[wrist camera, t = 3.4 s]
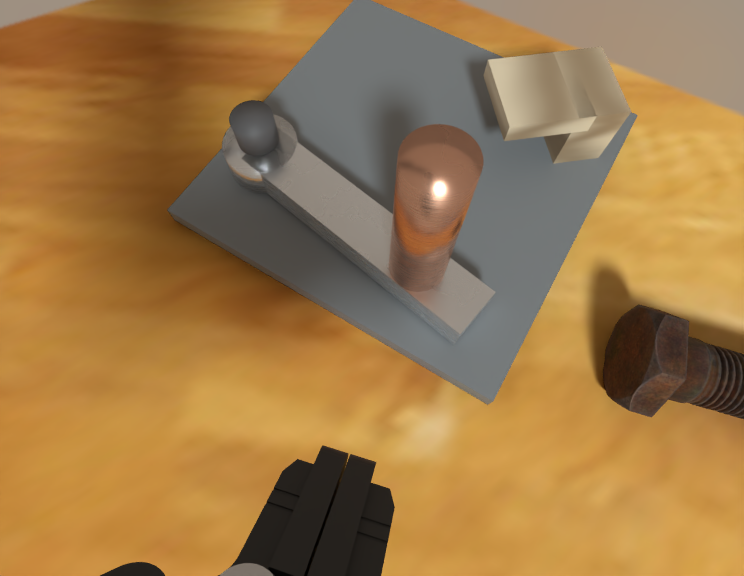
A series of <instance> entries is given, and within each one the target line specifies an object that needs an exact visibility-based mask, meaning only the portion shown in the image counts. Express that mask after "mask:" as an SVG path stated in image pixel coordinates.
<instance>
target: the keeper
mask: <svg viewBox="0 0 744 576" xmlns="http://www.w3.org/2000/svg"><path fill="white" fill-rule="evenodd" d="M484 79H485V82H486V85H487V89H488V92H489V95H490V98H491V101H492V105H493V108H494V111H495V114H496V117H497V120H498V124H499V127H500V130H501V133H502V136H503V140H504V141H510V140H518V139H526V138H534V137H542V136H544V139H545V142H546V145H547V148H548V150H549V153H550V156H551V159H552V162H553V164H555V163H563V162H570V161H578V160H586V159H594V158H599V156H600V155H601V154H602V152H603V151H604V149H605V148H606V147H607V145H608V144H609V142H610V141H611V140H612V138H613V137H614V135H615V134H616V133H617V131H618V130H619V128H620V127H621V126H622V124H623V123H624V121H625V120H626V119H627V117H628V116H629V114H630V113H631V110H630V108H629V106H628V104H627V101H626V99H625V97H624V95H623V92H622V90H621V88H620V86H619V84H618V81H617V79H616V77H615V75H614V72H613V70H612V68H611V66H610V64H609V61H608V59H607V57H606V55H605V52H604V50H603V48H602V47H595V48H586V49H577V50H569V51H560V52H551V53H542V54H534V55H525V56H516V57H507V58H499V59H490V60H488V61H487V65H486V68H485V72H484Z"/></svg>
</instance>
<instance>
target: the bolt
mask: <svg viewBox="0 0 744 576" xmlns="http://www.w3.org/2000/svg"><path fill="white" fill-rule="evenodd" d="M688 331H689V321H687V320H685V319H682V318H679V317H677V316H674V315H671V314H668V313H666V312H663V311H660V310H657V309H653V308H649V307H646V306H642V305H637V306H636V307H634V308H632V309H631V310H629V311H628V312H627V313H626V314H624V315H623V316H622V317H621V318H620V319H619V321H618V322H617V324H616V326H615V328H614V330H613V332H612V335H611V337H610V339H609V342H608V345H607V348H606V353H605V362H604V369H603V379H604V385H605V389H606V393H607V395H608V396H609V397H610V398H611V399H612V400H613V401H615V402H616V403H617V404H619V405H621V406H622V407H624V408H626V409H627V410H629V411H632V412H635V413H639V414H642V415H645V416H649V417H652V416H653V415H654V414H655V413H656V412H657V411H658V410H659V409H660V408H661V406H662V405H663V404H664V403H665V402H666V401H667V400H668V399H669V400H672V401H676V402H680V403H686V402H687V403H690V404H692V405H696V406H699V407H703V408H706V409H711V410H715V411H718V412H720V413H724V414H728V415H731V416H735V417H738V418H742V419H744V354H741V353H738V352H734V351H731V350H728V349H724V348H721V347H717V346H714V345H710V344H707V343H704V342H703V341H701V340H699V339H695V338H692V337H689V336H688Z"/></svg>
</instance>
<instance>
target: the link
mask: <svg viewBox="0 0 744 576" xmlns="http://www.w3.org/2000/svg"><path fill="white" fill-rule="evenodd" d="M273 115H274V114H273ZM274 119H275V123H276V126H277V130H278V134H279V142H278V145H277V147H276V148H275V149H274V150H273V151H272V152H270V153H268V154H266V155H263V156H251V155H248V154H246V153H244V152H243V151H242V150H241V149H240V147H239V145H238V143H237V140H236V138H235V135H234V133H233V130H232V128H231V126H230V128H229V129H228V130H227V132H226V133H225V135H224V138H223V142H222V150H223V154H224V157H225V159H226V161H227V163H228V165H229V168H230V170H231V172H232V174H233V176H234V178H235V180H236V181H237V182H238V184H240V185H241V186H242V187H243V188H245V189H247V190H249V191H252V192H255V193H268V194H269V195H270V196H271V197H272V198H274V199H275V200H276V201H277V202H279V203H280V204H281V205H282V206H284V207H285V208H286V209H287V210H289V211H290V212H291V213H292V214H293V215H295V216H296V217H297V218H298V219H300V220H301V221H302V222H303V223H305V224H306V225H307V226H308V227H309V228H311V229H312V230H313V231H314V232H316V233H317V234H318V235H319V236H321V237H322V238H323V239H324V240H325V241H327V242H328V243H329V244H330V245H332V246H333V247H334V248H335V249H337V250H338V251H339V252H340V253H341V254H343V255H344V256H345V257H346V258H348V259H349V260H350V261H351V262H353V263H354V264H355V265H356V266H357V267H359V268H360V269H361V270H362V271H364V272H365V273H366V274H367V275H369V276H370V277H371V278H372V279H373V280H375V281H376V282H377V283H378V284H380V285H381V286H382V287H383V288H385V289H386V290H387V291H388V292H389V293H391V294H392V295H393V296H394V297H396V298H397V299H398V300H399V301H401V302H402V303H403V304H404V305H406V306H407V307H408V308H409V309H410V310H412V311H413V312H414V313H415V314H417V315H418V316H419V317H420V318H422V319H423V320H424V321H425V322H426V323H428V324H429V325H430V326H431V327H433V328H434V329H435V330H436V331H438V332H439V333H440V334H441V335H442V336H444V337H445V338H446V339H447V340H449V341H450V342H451V343H452V344H455V343H456V341H457V340H458V339H459V338H460V337H461V335H462V334H463V333H464V332H465V331H466V329H467V328H468V327H469V326H470V325H471V323H472V322H473V321H474V320H475V319H476V318H477V316H478V315H479V314H480V313H481V312H482V310H483V309H484V308H485V307H486V306H487V304H488V303H489V301H490V300H491V298H492V297H493V295H494V294H495V291H494V290H492V289H491V288H490V287H488V286H487V285H486V284H484V283H483V282H482V281H480V280H479V279H478V278H476V277H475V276H474V275H472V274H471V273H470V272H468V271H467V270H466V269H464V268H463V267H462V266H461V265H459V264H458V263H457V262H455V261H454V260H453V259H451V255H452V252H453V249H454V247H455V244H456V241H457V238H458V236H459V233H460V230H461V227H462V225H463V222H464V219H465V216H466V214H467V211H468V208H469V205H470V202H471V200H472V197H473V194H474V191H475V189H476V186H477V183H478V180H479V178H480V175H481V172H482V169H483V162H484V160H483V154H482V151H481V148H480V146H479V145H478V143H477V142H476V141H475V139H474V138H473V137H472V136H471V135H469V134H468V133H467V132H465V131H463V130H461V129H459V128H457V127H454V126H450V125H445V124H432V125H426V126H423V127H420V128H418V129H416V130H414V131H413V132H411V133H410V134H409V135H407V137H406V138H405V139H404V140H403V142H402V143H401V145H400V147H399V151H398V158H397V170H396V182H395V194H394V206H393V214H392V213H390V212H389V211H388V210H387V209H385V208H384V207H383V206H381V205H380V204H379V203H377V202H376V201H375V200H373V199H372V198H371V197H369V196H368V195H367V194H365V193H364V192H363V191H361V190H360V189H359V188H357V187H356V186H355V185H353V184H352V183H351V182H350V181H348V180H347V179H346V178H344V177H343V176H342V175H340V174H339V173H338V172H336V171H335V170H334V169H332V168H331V167H330V166H328V165H327V164H326V163H324V162H323V161H322V160H320V159H319V158H318V157H317V156H315V155H314V154H313V153H311V152H310V151H309V150H307V149H306V148H305V147H303V146H302V145H301V144H299V143H298V140H297V136H296V132H295V130H294V128H293V127H292V125H291V124H290V123H289V122H288V121H286V120H285V119H283V118H282V117H280V116H277V115H274Z"/></svg>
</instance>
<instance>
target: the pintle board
mask: <svg viewBox="0 0 744 576" xmlns="http://www.w3.org/2000/svg"><path fill="white" fill-rule="evenodd" d="M499 58H504V57H501V56H499V55H497V54H494V53H492V52H490V51H487V50H485V49H483V48H480V47H478V46H476V45H473V44H471V43H469V42H466V41H464V40H462V39H459V38H457V37H455V36H452V35H450V34H448V33H445V32H443V31H441V30H438V29H436V28H434V27H431V26H429V25H427V24H424V23H422V22H420V21H417V20H415V19H413V18H410V17H408V16H406V15H403V14H401V13H399V12H397V11H394V10H392V9H390V8H387V7H385V6H383V5H380V4H378V3H376V2H373V1H371V0H354V1H353V2H352V3H351V4H350V5H349V6H348V7H347V8H346V10H345V11H344V12H343V13H342V14H341V15H340V16H339V17H338V18H337V20H336V21H335V22H334V23H333V24H332V25H331V26H330V27H329V29H328V30H327V31H326V32H325V33H324V34H323V35H322V36H321V38H320V39H319V40H318V41H317V42H316V43H315V44H314V45H313V47H312V48H311V49H310V50H309V51H308V52H307V53H306V54H305V56H304V57H303V58H302V59H301V60H300V61H299V62H298V63H297V65H296V66H295V67H294V68H293V69H292V70H291V71H290V72H289V74H288V75H287V76H286V77H285V78H284V79H283V80H282V81H281V83H280V84H279V85H278V86H277V87H276V88H275V89H274V90H273V92H272V93H271V94H270V95H269V96H268V97H267V98H266V99H265V101H264V102H261V101H255V100H251V101H246V102H243V103H240V104H239V105H237V106H236V107H235V108H234V109H233V110H232V112H231V114H230V117H229V122H230V125H231V128H232V130H233V133H234V135H235V138H236V140H237V143H238V145H239V147H240V149H241V150H242V151H243V152H244V153H246V154H248V155H251V156H263V155H266V154H268V153H270V152H272V151H273V150H274V149H275V148H276V147H277V145H278V142H279V134H278V130H277V126H276V123H275V119H274V115H277V116H280V117H282V118H283V119H285V120H286V121H288V122H289V123H290V124H291V125H292V127H293V128H294V130H295V132H296V136H297V140H298V143H299V144H301V145H302V146H303V147H305V148H306V149H307V150H309V151H310V152H311V153H313V154H314V155H315V156H317V157H318V158H319V159H320V160H322V161H323V162H324V163H326V164H327V165H328V166H330V167H331V168H332V169H334V170H335V171H336V172H338V173H339V174H340V175H342V176H343V177H344V178H346V179H347V180H348V181H350V182H351V183H352V184H353V185H355V186H356V187H357V188H359V189H360V190H361V191H363V192H364V193H365V194H367V195H368V196H369V197H371V198H372V199H373V200H375V201H376V202H377V203H379V204H380V205H381V206H383V207H384V208H385V209H387V210H388V211H389V212H390V213H392V214H393V206H394V194H395V182H396V170H397V158H398V151H399V147H400V145H401V143H402V142H403V140H404V139H405V138H406V137H407V135H409V134H410V133H411V132H413V131H414V130H416V129H418V128H420V127H423V126H426V125H432V124H445V125H450V126H454V127H457V128H459V129H461V130H463V131H465V132H467V133H468V134H469V135H471V136H472V137H473V138H474V139H475V141H476V142H477V143H478V145H479V146H480V148H481V151H482V154H483V160H484V162H483V169H482V172H481V175H480V178H479V180H478V183H477V186H476V189H475V191H474V194H473V197H472V200H471V202H470V205H469V208H468V211H467V214H466V216H465V219H464V222H463V225H462V227H461V230H460V233H459V236H458V238H457V241H456V244H455V247H454V249H453V252H452V255H451V259H453V260H454V261H455V262H457V263H458V264H459V265H461V266H462V267H463V268H464V269H466V270H467V271H468V272H470V273H471V274H472V275H474V276H475V277H476V278H478V279H479V280H480V281H482V282H483V283H484V284H486V285H487V286H488V287H490V288H491V289H492V290H494V291H495V294H494V295H493V297H492V298H491V300H490V301H489V303H488V304H487V306H486V307H485V308H484V309H483V310H482V312H481V313H480V314H479V315H478V316H477V318H476V319H475V320H474V321H473V322H472V323H471V325H470V326H469V327H468V328H467V329H466V331H465V332H464V333H463V334H462V335H461V337H460V338H459V339H458V340H457V341H456V343H455V344H452V343H451V342H450V341H449V340H447V339H446V338H445V337H444V336H442V335H441V334H440V333H439V332H438V331H436V330H435V329H434V328H433V327H431V326H430V325H429V324H428V323H426V322H425V321H424V320H423V319H422V318H420V317H419V316H418V315H417V314H415V313H414V312H413V311H412V310H410V309H409V308H408V307H407V306H406V305H404V304H403V303H402V302H401V301H399V300H398V299H397V298H396V297H394V296H393V295H392V294H391V293H389V292H388V291H387V290H386V289H385V288H383V287H382V286H381V285H380V284H378V283H377V282H376V281H375V280H373V279H372V278H371V277H370V276H369V275H367V274H366V273H365V272H364V271H362V270H361V269H360V268H359V267H357V266H356V265H355V264H354V263H353V262H351V261H350V260H349V259H348V258H346V257H345V256H344V255H343V254H341V253H340V252H339V251H338V250H337V249H335V248H334V247H333V246H332V245H330V244H329V243H328V242H327V241H325V240H324V239H323V238H322V237H321V236H319V235H318V234H317V233H316V232H314V231H313V230H312V229H311V228H309V227H308V226H307V225H306V224H305V223H303V222H302V221H301V220H300V219H298V218H297V217H296V216H295V215H293V214H292V213H291V212H290V211H289V210H287V209H286V208H285V207H284V206H282V205H281V204H280V203H279V202H277V201H276V200H275V199H274V198H272V197H271V196H270V195H269V194H268V193H255V192H252V191H249V190H247V189H245V188H243V187H242V186H241V185H240V184H238V182H237V181H236V180H235V178H234V176H233V174H232V172H231V170H230V168H229V165H228V163H227V161H226V159H225V157H224V154H223V150H222V149H221V150H220V151H219V152H218V153H217V155H216V156H215V157H214V158H213V159H212V160H211V161H210V162H209V164H208V165H207V166H206V167H205V168H204V169H203V170H202V171H201V173H200V174H199V175H198V176H197V177H196V178H195V179H194V180H193V182H192V183H191V184H190V185H189V186H188V187H187V188H186V189H185V190H184V192H183V193H182V194H181V195H180V196H179V197H178V198H177V199H176V201H175V202H174V203H173V204H172V205H171V206H170V207H169V208H168V210H167V211H168V212H169V213H170V214H171V216H172V217H173V218H174V220H176V221H177V222H179V223H181V224H182V225H184V226H186V227H187V228H189V229H191V230H193V231H194V232H196V233H198V234H199V235H201V236H203V237H204V238H206V239H208V240H210V241H211V242H213V243H215V244H216V245H218V246H220V247H221V248H223V249H225V250H226V251H228V252H230V253H232V254H233V255H235V256H237V257H238V258H240V259H242V260H243V261H245V262H247V263H249V264H250V265H252V266H254V267H255V268H257V269H259V270H260V271H262V272H264V273H265V274H267V275H269V276H271V277H272V278H274V279H276V280H277V281H279V282H281V283H282V284H284V285H286V286H287V287H289V288H291V289H293V290H294V291H296V292H298V293H299V294H301V295H303V296H304V297H306V298H308V299H310V300H311V301H313V302H315V303H316V304H318V305H320V306H321V307H323V308H325V309H326V310H328V311H330V312H332V313H333V314H335V315H337V316H338V317H340V318H342V319H343V320H345V321H347V322H349V323H350V324H352V325H354V326H355V327H357V328H359V329H360V330H362V331H364V332H365V333H367V334H369V335H371V336H372V337H374V338H376V339H377V340H379V341H381V342H382V343H384V344H386V345H387V346H389V347H391V348H393V349H394V350H396V351H398V352H399V353H401V354H403V355H404V356H406V357H408V358H410V359H411V360H413V361H415V362H416V363H418V364H420V365H421V366H423V367H425V368H426V369H428V370H430V371H432V372H433V373H435V374H437V375H438V376H440V377H442V378H443V379H445V380H447V381H449V382H450V383H452V384H454V385H455V386H457V387H459V388H460V389H462V390H464V391H465V392H467V393H469V394H471V395H472V396H474V397H476V398H477V399H479V400H481V401H482V402H484V403H486V404H487V405H488V404H490V403H491V402H493V401H494V399H495V397H496V395H497V393H498V391H499V389H500V387H501V385H502V383H503V381H504V379H505V377H506V375H507V373H508V371H509V369H510V367H511V365H512V363H513V361H514V359H515V357H516V355H517V353H518V351H519V349H520V347H521V345H522V343H523V341H524V339H525V337H526V335H527V333H528V331H529V329H530V327H531V325H532V323H533V321H534V319H535V317H536V315H537V313H538V311H539V309H540V307H541V306H542V304H543V302H544V300H545V298H546V296H547V294H548V292H549V290H550V288H551V286H552V284H553V282H554V280H555V278H556V276H557V274H558V272H559V270H560V268H561V266H562V264H563V262H564V260H565V258H566V256H567V254H568V252H569V250H570V248H571V246H572V244H573V242H574V240H575V238H576V236H577V234H578V232H579V230H580V228H581V226H582V224H583V222H584V220H585V218H586V216H587V214H588V212H589V210H590V209H591V207H592V205H593V203H594V201H595V199H596V197H597V195H598V193H599V191H600V189H601V187H602V185H603V183H604V181H605V179H606V177H607V175H608V173H609V171H610V169H611V167H612V165H613V163H614V161H615V159H616V157H617V155H618V153H619V151H620V149H621V147H622V145H623V143H624V141H625V139H626V137H627V135H628V133H629V131H630V129H631V127H632V125H633V123H634V121H635V119H636V117H637V115H636V114H634V113H630V114H629V116H628V117H627V119H626V120H625V121H624V123H623V124H622V126H621V127H620V128H619V130H618V131H617V133H616V134H615V135H614V137H613V138H612V140H611V141H610V142H609V144H608V145H607V147H606V148H605V149H604V151H603V152H602V154H601V155H600V156H599V158H594V159H586V160H578V161H570V162H563V163H555V164H553V162H552V159H551V156H550V153H549V150H548V148H547V145H546V142H545V139H544V136H542V137H534V138H526V139H518V140H510V141H504V140H503V136H502V133H501V130H500V127H499V124H498V120H497V117H496V114H495V111H494V108H493V105H492V101H491V98H490V95H489V92H488V89H487V85H486V82H485V79H484V72H485V68H486V65H487V61H488V60H490V59H499ZM273 114H274V115H273Z"/></svg>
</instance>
